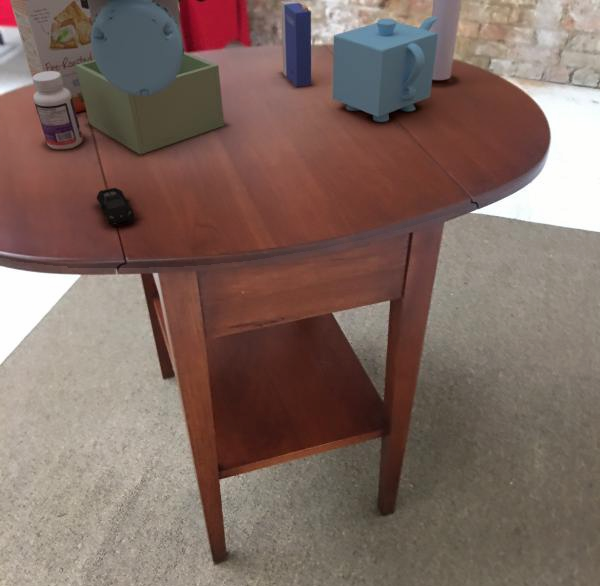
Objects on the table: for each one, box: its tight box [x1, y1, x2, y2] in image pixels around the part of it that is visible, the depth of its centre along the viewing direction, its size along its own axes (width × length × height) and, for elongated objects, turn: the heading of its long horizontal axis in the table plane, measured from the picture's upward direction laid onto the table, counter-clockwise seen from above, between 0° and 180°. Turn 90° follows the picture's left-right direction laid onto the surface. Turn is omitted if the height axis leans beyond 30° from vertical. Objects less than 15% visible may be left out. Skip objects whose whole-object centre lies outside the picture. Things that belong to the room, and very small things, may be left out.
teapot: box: [332, 16, 438, 123], centre depth 102 cm, size 18×16×13 cm
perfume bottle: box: [430, 0, 462, 81], centre depth 107 cm, size 6×6×20 cm
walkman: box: [280, 0, 312, 88], centre depth 111 cm, size 8×3×12 cm, turn 20°
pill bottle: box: [31, 71, 83, 150], centre depth 94 cm, size 5×5×10 cm
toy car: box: [96, 187, 135, 227], centre depth 81 cm, size 8×3×2 cm, turn 25°
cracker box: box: [9, 0, 95, 114], centre depth 101 cm, size 14×6×21 cm, turn 132°
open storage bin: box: [75, 51, 225, 156], centre depth 99 cm, size 16×16×9 cm
